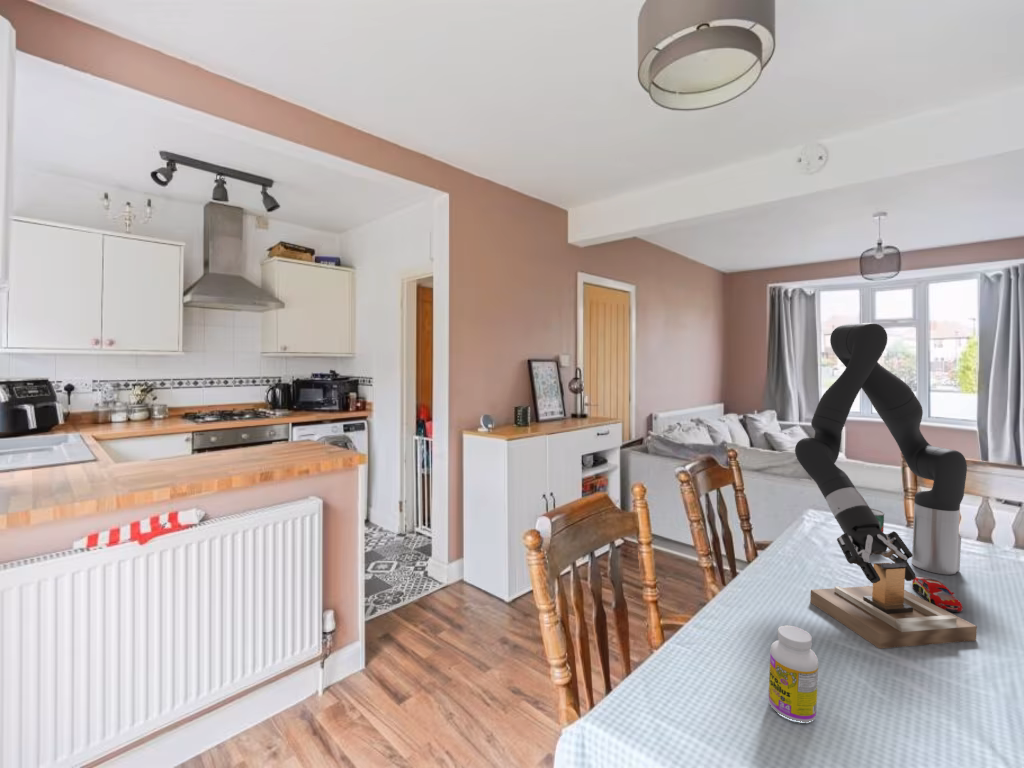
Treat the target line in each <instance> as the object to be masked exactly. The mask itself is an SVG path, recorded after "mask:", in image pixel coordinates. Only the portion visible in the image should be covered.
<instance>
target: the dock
mask: <svg viewBox="0 0 1024 768" xmlns="http://www.w3.org/2000/svg"><path fill="white" fill-rule="evenodd" d="M872 592H873V585H866V586H865V585H863V586H852V587H851V586H849V587H841V586H838V585H837V586H834V587H833V588H819V589H810V597H809V598H810V599H809V600H810V602H809V603H811V604H812V605H814V606H815V607H817V608H818V609H820V610H821V611H822V612H823V613H825V614H827V615H828V616H830V617H832V618H833V619H834V620H836V621H837V622H839V623H840V624H842V625H843V626H845V627H846V628H848V629H849V630H851V631H852V632H854V633H855V634H857V635H859V636H860V637H861V638H863V639H864V640H866V641H867V642H869V643H871V645H873V646H874V647H877V648H878V649H890V648H891V649H892V648H902V647H903V648H905V647H914V646H915V647H917V646H927V645H938V644H939V645H941V644H951V643H963V642H975V641H977V633H978V632H977V631H978V630H977V629H978V626H977V625H975V624H974V623H971V622H969V621H968V620H966V619H963V618H962V617H960V616H958V615H955V614H953V612H951V611H946V610H944V609H942V608H940V607H938V606H936V605H934V604H932V603H930V602H928V601H927V600H926V599H925V598H923V597H922V598H921V597H920V596H918V595H916V594H914V593H912V592H910V591H908V590H906V589H904V603H905V604H907V605H909V606H911V607H913V612H908V613H894V614H886V613H884V612H883V611H881V610H879V609H878V608H876V607H874V606H872V605H871V604H869V603H867V602H865V601H864V600H863V596H872Z"/></svg>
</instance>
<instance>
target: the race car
mask: <svg viewBox="0 0 1024 768" xmlns="http://www.w3.org/2000/svg"><path fill="white" fill-rule="evenodd" d="M912 588H913V590H914V592H916V593H918V594H919V595H920V596H921V597H922V598H923V599H924V600H926V601H928V602H930V603H932V604H934V605H936V606H938V607H940V608H942V609H944V610H946V611H948V612H950V613H960V612H962V611H963V605H962V604H963V603H962V602H961V601H960V600H959V599H958V598H957V597H956V596H955V592H953V591H951V590H950V589H949V588H948V587H947V586H946V585H944V583H942V582H941V581H940V580H936V579H932V578H929V577H922V576H916V578H915V579H913V580H912Z"/></svg>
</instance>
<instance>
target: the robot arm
mask: <svg viewBox="0 0 1024 768" xmlns="http://www.w3.org/2000/svg"><path fill="white" fill-rule="evenodd" d="M829 343H830V346H831V349H832V351H833V353H834V355H835V356H836V357H837V358H838V360H840V362H841V363H842V365H843V366H844V367H845V369H844V371H843V372H842V373H841V375H840V376H839V377H837V379H836V381H834V382H833V383H832V384H831V385H830V386H829V387H828V388H827V390H826V391H825V392H824V393H823V395H822V396H821V398H820V400H819V401H818V404H817V406H816V408H815V411H814V414H813V416H812V419H811V421H810V422H811V425H810V426H811V427H812V428H813V430H814V437H805V438H804V437H803V438H801V439H800V440H798V441H797V443H796V445H795V447H794V448H795V449H794V453H795V458H796V459H797V460H798V463H799V464H800V465H801V467H802V468H803V470H805V472H806V473H807V474H808V475H809V476H810V477H811V479H812V481H814V483H815V484H816V485H817V486H818V489H819V490H820V492H821V494H822V496H823V498H824V499H825V501H826V503H827V506H828V508H829V511H830V513H832V516H833V517H834V519H835V521H836V523H837V524H838V525H839V527H840V528H841V530H842V532H843V534H841V535H840V536H839V537H837V538H836V541H837V543H838V545H839V547H840V549H841V552H843V555H844V557H845V560H846V561H847V563H849V564H850V565H853V564H855V565H857V566H858V567H860V569H861V570H862V572H863V574H864V576H865V577H866V579H867V580H868V581H869V582H870V583H871V584H873V583H877V582H878V581H880V577H879V575H878V574H877V572H876V570H875V569H874V564H872V562H870V556H872V555H876V556H878V555H881V556H883V558H888V559H889V560H891V561H892V563H905V564H906V567H905V581H906V582H910V581H911V582H912V581H913V579H915V578H916V577H917V576H916V572H915V571H914V569H913V568H912V567H911V565H910V564H909V561H908V560H910V558H911V564H912V565H913V566H915V567H916V568H918V569H920V570H923V571H925V572H930V573H933V574H939V575H948V576H949V575H955V574H957V572H960V571H961V567H960V566H961V550H962V549H961V548H962V547H961V546H962V537H961V536H960V535H959V534H960V533H959V531H960V510H961V504H962V501H963V499H964V496H965V488H966V480H967V473H968V472H967V471H968V465H967V460H966V457H965V456H964V455H963V453H961V452H960V451H959V450H955V449H951V448H945V447H940V446H933V445H931V444H930V443H929V442H928V441H927V439H926V438H925V437H924V435H923V433H922V432H921V427H920V425H921V423H922V420H923V413H924V412H923V406H922V404H921V402H920V401H919V399H918V397H917V396H916V394H915V392H914V391H913V390H912V388H911V387H910V386H909V385H908V384H907V383H906V382H904V381H903V379H901V378H900V377H898V376H897V375H896V374H894V373H892V372H891V371H890V370H888V369H886V368H885V367H883V366H882V365H881V364H880V363H879V360H880V359H881V357H882V355H883V353H884V351H885V350H886V347H887V344H888V333H887V331H886V329H885V328H884V327H883V325H881V324H879V323H875V322H863V323H849V324H842V325H839V326H837V327H836V328H834V330H832V332H831V334H830V338H829ZM861 389H862V391H863V392H864V394H865V395H866V397H867V398H868V400H869V402H870V403H871V405H872V406H873V408H874V409H875V411H876V412H877V414H878V416H879V417H880V419H881V420H882V421H883V423H884V425H886V427H887V429H888V430H889V432H890V434H891V436H892V437H893V439H894V441H895V443H896V444H897V446H898V448H899V450H900V453H901V454H902V456H903V458H904V461H905V463H906V464H907V467H908V468H909V470H910V471H911V472H912V473H913V474H914V475H916V476H917V477H919V478H922V479H925V480H931V481H933V484H932V488H931V489H930V490H920V491H918V492H915V495H914V505H913V525H912V526H913V528H912V529H913V531H912V549H911V550H910V549H909V548H908V546H907V545H906V543H905V542H904V541H903V539H902V538H901V536H900V535H899V534H898V533H897V531H891V532H889V533H884V531H883V532H882V531H881V530H880V523H879V521H878V520H877V518H876V517H875V515H874V513H873V512H872V510H871V509H872V508H871V507H870V506H869V504H868V503H867V501H866V500H865V499H864V497H863V495H862V494H861V493H860V492H859V491H858V489H857V487H855V484H854V483H853V481H852V480H851V479H850V477H849V476H848V475H847V473H846V472H845V471H843V470H842V469H841V468H840V467H838V466H837V464H836V462H837V460H838V458H839V454H840V450H841V444H842V443H841V442H842V432H843V429H844V427H845V425H846V421H847V419H848V417H849V414H850V412H851V408H852V407H853V404H854V402H855V401H856V398H857V396H858V395H859V392H861ZM870 508H871V509H870ZM853 545H855V546H856V547H855V546H853ZM887 549H888V550H887Z"/></svg>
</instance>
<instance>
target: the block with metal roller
mask: <svg viewBox="0 0 1024 768" xmlns="http://www.w3.org/2000/svg"><path fill="white" fill-rule="evenodd" d="M873 567H874V569H875V570H876V572H877V574H878V575H879V577H880V581H878V582H877V583H872V586H873V592H872V596H863V600H864V601H865V602H867V603H869V604H871V605H872V606H874V607H876V608H878V609H879V610H881V611H883V612H884V613H886V614H894V613H908V612H913V607H911V606H909V605H907V604H905V603H904V590H905V584H906V583H905V581H906V580H905V567H906V564H905V563H895V562H879V563H878V562H877V563H874V562H873Z"/></svg>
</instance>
